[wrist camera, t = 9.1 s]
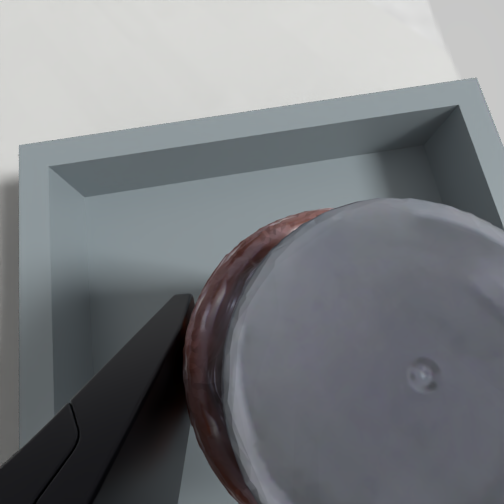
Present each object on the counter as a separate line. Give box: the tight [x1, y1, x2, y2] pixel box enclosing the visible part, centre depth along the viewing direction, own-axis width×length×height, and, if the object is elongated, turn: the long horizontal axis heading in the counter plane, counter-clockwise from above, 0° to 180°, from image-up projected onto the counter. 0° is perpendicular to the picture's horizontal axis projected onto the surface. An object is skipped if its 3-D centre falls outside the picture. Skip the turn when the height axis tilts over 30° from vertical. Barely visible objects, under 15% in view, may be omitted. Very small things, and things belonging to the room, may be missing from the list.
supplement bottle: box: [183, 198, 504, 504], centre depth 9 cm, size 6×6×11 cm
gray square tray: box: [19, 78, 504, 504], centre depth 15 cm, size 20×20×4 cm
